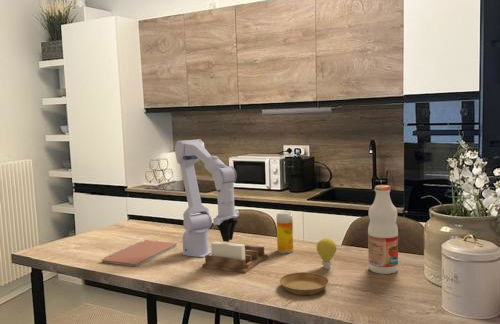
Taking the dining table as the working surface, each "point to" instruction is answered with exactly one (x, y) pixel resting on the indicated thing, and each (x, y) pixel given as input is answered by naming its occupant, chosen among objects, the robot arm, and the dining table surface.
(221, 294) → the dining table surface
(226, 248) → the block
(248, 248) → the rack
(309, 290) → the plant saucer
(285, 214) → the beer can
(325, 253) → the light bulb
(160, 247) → the notebook
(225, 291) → the dining table surface
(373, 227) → the fruit juice
